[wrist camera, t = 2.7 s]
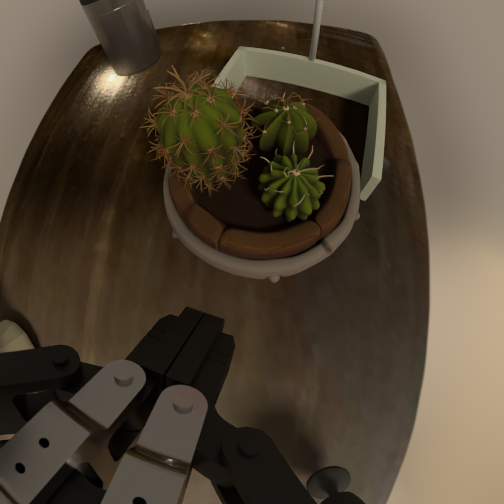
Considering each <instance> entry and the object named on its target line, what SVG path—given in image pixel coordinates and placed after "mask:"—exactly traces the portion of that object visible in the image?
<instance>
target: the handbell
mask: <svg viewBox="0 0 504 504" xmlns="http://www.w3.org/2000/svg"><path fill="white" fill-rule="evenodd" d="M27 349H34V346H33V344H32V343H31V341H30V339H29V337H28V335H27V334H26V333H25V332H24V331H23V330H22V329H21V328H20V327H19V326H18V325H17V324H16V323H15V322H12V321H8V320H4V321H2V322H0V353H3V352H12V351H20V350H27ZM35 393H36V392H35ZM28 394H29V393H28Z"/></svg>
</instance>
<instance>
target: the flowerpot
mask: <svg viewBox="0 0 504 504" xmlns="http://www.w3.org/2000/svg"><path fill="white" fill-rule="evenodd" d="M172 67H173V66H172ZM173 69H174V67H173ZM204 70H205V69H204ZM204 70H203V71H204ZM203 71H202V73H203ZM167 72H169V71H167ZM174 72H175V73H173V72H172V73H171V72H169V73H170V74H172V75H173V76H174V77H176V78H177V79H178V80H179V82H180V85H179V84H176V83H175V82H174V83H164V84H166V87H162V86H160V85H159V86H160V87H155V88H161V90H162V91H163V92H162V91H160V90H157V89H154V90H157V91H158V92H160V93H161V92H162V94H163V95H164V96H162V95H154V96H160V97H157V98H159V99H160V98H161V99H163V98H165V100H164V99H163V100H162V101H161V102H160V103H159V104H158V105H160V104H161V103H163V102H165V104H164V105H163V107H162V108H161V109H159V110H160V112H159V111H158V113H154V114H152V113H151V112H150V110H149V112H150V113H151V115H152V116H153V115H154V116H153V117H154V119H151V117H150V115H149V113H148V115H149V117H150V119H147V118H144V119H146V120H148V122H151V123H153V124H151V125H150V126H144V127H149V128H148V129H147V130H148V131H149V129H150V128H151V127H152V128H153V127H154V126H155V127H154V128H153V129H155V128H156V129H155V134H156V131H158V133H159V135H160V136H158V137H160V138H158V139H160V140H159V142H158V143H159V144H154V143H152V144H154V145H157V148H156V147H151V148H152V149H153V150H157V149H158V148H159V150H157V151H158V152H157V151H156V152H157V155H158V153H159V155H158V156H159V157H158V156H157V155H156V159H158V158H159V159H160V157H162V156H164V164H165V158H166V159H169V161H168V160H167V162H168V164H167V165H165V166H164V167H163V168H165V167H166V171H165V175H164V182H163V195H164V203H165V209H166V213H167V216H168V219H169V222H170V224H171V226H172V228H173V232H172V236H173V237H174V238H179V239H180V240H181V242H182V243H183V244H184V245H185V246H186V247H187V248H188V249H189V250H190V251H191V252H193V253H194V254H195V255H196V256H198V257H199V258H201V259H202V260H204V261H205V262H207V263H208V264H210V265H212V266H214V267H216V268H218V269H220V270H223V271H225V272H228V273H231V274H235V275H238V276H242V277H247V278H254V279H269V280H270V281H271V282H273V283H275V282H277V281H278V280H279V278H280V277H286V276H290V275H293V274H296V273H299V272H301V271H303V270H305V269H307V268H309V267H311V266H313V265H315V264H317V263H318V262H320V261H322V260H323V259H325V258H326V257H328V256H329V255H331V254H332V253H333V252H334V251H335V250H336V249H337V248H338V246H339V245H340V244H341V243H342V242H343V241H344V239H345V238H346V237H347V236H348V234H349V232H350V231H351V229H352V226H353V224H354V221H355V220H358V219H359V217H360V214H359V212H358V209H359V203H360V173H359V165H358V163H357V161H356V159H355V157H354V155H353V153H352V151H351V149H350V147H349V145H348V143H347V141H346V139H345V138H344V136H343V135H342V134H341V133H340V132H339V131H338V130H337V128H336V127H335V126H334V124H333V123H332V122H331V121H330V119H329V118H328V117H327V116H326V115H325V114H323V113H322V112H321V111H320V110H318V109H317V108H315V107H313V106H311V105H310V104H306V103H304V100H308V99H301V97H300V96H299V95H298V94H297V95H298V96H299V97H300V99H301V101H300V102H293V101H291V100H289V98H292V97H297V96H292V97H290V96H291V95H292V94H293V92H291V93H292V94H291V95H290V96H289V97H288V98H285V99H284V96H282V95H281V96H282V97H283V98H281V97H276V98H278V99H276V100H272V101H270V100H267V97H268V92H269V91H268V92H267V94H266V100H263V99H261V100H256V99H251V98H237V97H236V98H237V99H233V98H232V96H233V95H237V94H234V93H237V92H243V91H236V90H237V89H239V88H240V87H242V86H244V85H246V84H244V85H242V86H240V87H238V88H237V89H235V90H234V88H233V87H235V86H233V87H232V85H233V84H234V83H235V82H234V83H233V84H232V82H231V86H230V84H229V86H230V87H229V88H228V89H227V81H228V80H226V86H224V84H223V82H222V81H220V82H222V84H223V86H224V89H223V88H222V87H221V86H220V85H219V84H220V82H219V84H215V82H214V84H212V82H211V81H212V80H214V79H216V78H218V77H220V76H218V77H215V78H213V79H212V80H210V81H209V82H210V83H211V84H209V85H214V86H209V85H207V84H208V83H209V82H208V83H206V84H205V81H206V79H209V78H206V77H207V76H209V75H210V74H212V73H209V74H206V75H204V73H203V76H202V73H201V75H200V76H199V74H198V73H197V72H196V70H195V72H196V73H197V75H198V76H197V75H196V74H195V73H194V72H193V73H194V74H195V75H196V77H197V78H198V77H199V78H198V79H196V77H195V78H194V77H191V76H192V75H194V74H192V75H191V76H188V78H187V79H186V81H185V82H183V81H182V80H181V79H180V78H179V76H178V74H177V72H176V70H175V69H174ZM213 73H214V72H213ZM201 76H202V77H201ZM190 77H191V78H193V80H194V79H195V80H196V81H193V80H192V81H191V82H189V83H190V84H189V83H188V84H187V85H185V84H186V82H187V81H189V80H188V79H189V78H190ZM202 78H204V79H203V80H201V79H202ZM205 78H206V79H205ZM221 80H222V79H221ZM192 82H193V83H192ZM202 82H203V83H204V84H203V83H202ZM191 83H192V84H191ZM228 83H229V81H228ZM167 84H173V85H169V86H171V87H167ZM174 84H175V85H174ZM216 85H217V87H218V85H219V86H220V87H221V88H222V89H221V88H217V87H216ZM176 86H179V88H178V87H176ZM173 87H175V88H173ZM162 88H163V89H165V90H163V89H162ZM232 88H233V90H234V91H233V90H232ZM166 89H167V91H168V89H170V90H171V92H169V91H168V93H169V94H167V91H166ZM271 89H272V88H271ZM173 90H174V92H172V91H173ZM227 91H228V92H227ZM235 91H236V92H235ZM285 92H286V91H285ZM238 94H239V93H238ZM294 94H296V93H295V92H294ZM240 95H244V94H240ZM284 95H285V93H284ZM245 96H247V95H245ZM233 97H234V98H235V96H233ZM248 97H249V96H248ZM157 98H154V99H157ZM279 98H280V99H279ZM154 99H153V100H154ZM161 99H160V100H161ZM269 99H270V98H269ZM311 100H312V99H311ZM151 101H152V100H151ZM158 105H157V106H158ZM157 106H156V107H157ZM156 107H155V108H156ZM155 108H154V109H155ZM148 109H149V107H148ZM155 114H157V118H156V117H155ZM150 120H151V121H150ZM152 121H153V122H152ZM154 121H155V122H154ZM148 122H146V123H148ZM144 127H139V128H144ZM153 129H151V131H152V130H153ZM148 131H147V133H148ZM151 131H150V133H151ZM150 133H149V134H150ZM149 134H148V137H149ZM155 136H157V135H155ZM156 140H157V138H156ZM156 140H155V141H156ZM157 141H158V140H157ZM149 142H150V141H149ZM150 143H151V142H150ZM158 145H160V146H158ZM154 148H155V149H154ZM161 148H162V150H161ZM153 150H151V151H153ZM151 151H149V152H151ZM160 151H162V152H160ZM149 152H148V153H149ZM160 153H161V154H163V155H162V156H160V155H161V154H160ZM167 153H168V156H169V157H170V158H169V157H168V158H167ZM164 154H165V155H164ZM169 154H170V155H171V156H170V155H169ZM157 157H158V158H157ZM156 159H153V160H156ZM150 161H151V160H150ZM164 164H163V165H164ZM161 169H162V168H161Z"/></svg>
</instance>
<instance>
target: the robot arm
mask: <svg viewBox="0 0 504 504" xmlns="http://www.w3.org/2000/svg"><path fill="white" fill-rule="evenodd" d="M79 1H80V3H81V5H82V7H83V9H84V11H85V13H86V15H87V17H88V19H89V21H90V23H91V25H92V27H93V29H94V31H95V33H96V35H97V37H98V39H99V41H100V43H101V45H102V47H103V49H104V51H105V53H106V55H107V57H108V59H109V61H110V63H111V65H112V67H113V68H114V70H115V72H116V74H118V75H121V76H125V75H131V74H134V73H137V72H139V71H142V70H144V69H146V68H147V67H149V66H150V65H152V64H153V63H154V62H155V61H156V60H157V59H158V58H159V57H160V55H161V50H160V43H159V40H158V37H157V34H156V31H155V29H154V26H153V23H152V20H151V17H150V14H149V11H148V10H147V9H146V7H145V4H144V1H143V0H79ZM224 321H225V320H224V319H222V318H219V317H216V316H213V315H210V314H207V313H206V314H205V313H204V312H201V311H198V310H196V309H193V308H190V307H186V308H185V309H184V310H183V312H182V313H181V314H180V315H179V317H177V316H174V315H172V314H170V315H168V316H165V317H163V318H161V319H159V320H158V322H157V323H156V324H155V325H154V326H153V328H152V329H151V330H150V331H149V332H148V333H147V335H145V337H144V338H143V339H142V340H141V341H140V342H139V344H138V345H137V346H136V347H135V348H134V350H133V351H132V352H131V353H130V354H129V355H128V357H127V358H126V359H125V360H115V361H112V362H110V363H108V364H107V365H106V366H105V367H100V366H96V365H92V364H88V363H84V362H81V361H80V357H79V355H78V353H77V352H76V351H75V350H74V349H73V348H71V347H69V346H66V345H54V346H48V347H41V348H34V349H27V350H20V351H12V352H3V353H0V435H5V434H15V435H14V436H13V437H12V438H11V439H10V440H1V441H0V504H182V502H183V499H184V495H185V491H186V488H187V485H188V482H189V478H190V475H191V472H192V468H194V469H195V470H196V471H198V472H199V473H201V474H202V475H204V476H205V477H207V478H208V479H210V480H211V483H212V485H213V487H214V489H215V491H216V493H217V495H218V497H219V499H220V500H221V502H222V504H317V503H316V502H315V500H314V499H313V498H312V497H311V495H310V494H309V493H308V491H307V490H306V489H305V487H304V486H303V484H302V483H301V482H300V480H299V479H298V478H297V476H296V475H295V473H294V472H293V470H292V469H291V468H290V466H289V465H288V463H287V462H286V460H285V459H284V457H283V456H282V455H281V453H280V452H279V450H278V449H277V447H276V446H275V444H274V442H273V441H272V440H271V438H270V437H269V436H268V435H267V434H265V433H264V432H262V431H260V430H258V429H255V428H251V427H241V428H236V427H234V426H233V425H231V424H229V423H228V422H226V421H225V420H224V419H223V418H221V417H220V415H219V414H218V413H217V411H216V409H215V404H216V402H217V399H218V397H219V394H220V391H221V389H222V387H223V384H224V382H225V379H226V376H227V374H228V371H229V367H230V363H231V360H232V356H233V353H234V349H235V343H234V338H233V336H232V335H228V334H225V333H222V331H223V326H224ZM48 390H49V391H48ZM35 392H36V393H35ZM28 393H29V394H28Z"/></svg>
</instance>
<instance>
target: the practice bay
mask: <svg viewBox="0 0 504 504" xmlns="http://www.w3.org/2000/svg"><path fill="white" fill-rule="evenodd" d="M322 7H323V0H316V7H315V16H314V24H313V32H312V40H311V48H310V56H309V57H305V56H300V55H295V54H290V53H285V52H279V51H273V50H266V49H259V48H251V47H242V46H240V47H239V48H238V49H237V51H236V52H235V53H234V55H233V56H232V57H231V59H230V60H229V62H228V63H227V64H226V66H225V67H224V69H223V70H222V71H221V73H220V74H219V76H220V77H218V78H217V79H216V80H215V84H219V82H220V81H222V82H223V84H224V86H226V80H228V81H229V83H228V81H227V89H228V88H229V87H230V86H231V82H232V84H233V83H234V82H235V83H234V84H233V85H232V87H233V86H235V87H233V88H234V90H235V89H237V88H238V87H240V85H241V83H242V82H243V80H244V78H245V77H246V76H253V77H259V78H265V79H270V80H276V81H281V82H286V83H290V84H295V85H299V86H303V87H307V88H311V89H315V90H319V91H323V92H326V93H330V94H333V95H337V96H340V97H343V98H347V99H350V100H353V101H356V102H359V103H362V104H365V105H367V106H369V115H368V125H367V134H366V143H365V151H364V158H363V165H362V172H361V178H360V199H361V200H364V201H366V199H367V198H368V197H369V195H370V194H371V193H372V191H373V190H374V189H375V187H376V186H377V185H378V183H379V182H380V181H381V176H382V166H383V155H384V141H385V122H386V81H385V80H382V79H379V78H377V77H374V76H371V75H368V74H366V73H363V72H360V71H357V70H353V69H350V68H347V67H344V66H340V65H337V64H333V63H329V62H326V61H322V60H318V59H315V57H316V50H317V44H318V37H319V30H320V22H321V15H322ZM221 79H222V80H221ZM222 82H220V84H219V85H220V86H221V87H222V88H223V89H224V86H223V84H222ZM213 84H214V83H213ZM229 84H230V86H229ZM219 85H218V87H217V85H216V87H217V88H221V87H220V86H219ZM212 86H214V85H212ZM222 88H221V89H222ZM233 88H232V90H233ZM234 90H233V91H234ZM237 90H238V89H237ZM237 90H236V91H237ZM236 91H235V92H236ZM227 92H228V91H227ZM234 94H236V93H234ZM233 96H235V95H233ZM233 96H232V98H233Z"/></svg>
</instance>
